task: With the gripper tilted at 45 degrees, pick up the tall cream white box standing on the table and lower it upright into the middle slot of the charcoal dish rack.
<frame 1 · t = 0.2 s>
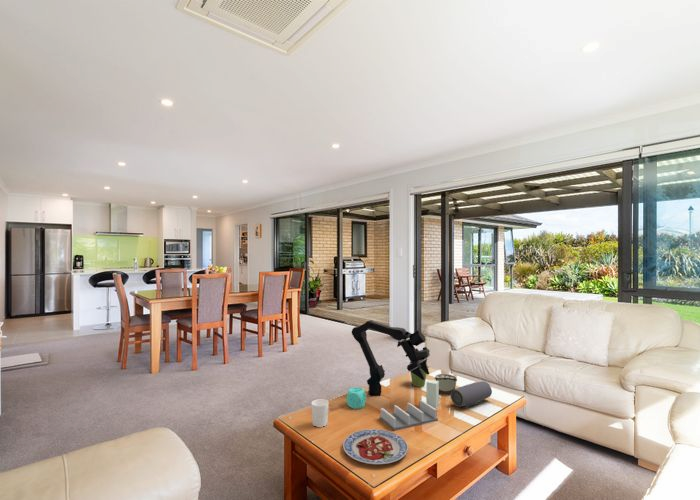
hand: (426, 376, 186), 14 cm above the table, tool tilted 35°, fingers open, 9 cm apart
food container: (444, 393, 201), on the table
plant pot: (418, 385, 214), on the table
dish rack: (408, 419, 169), on the table
decorative dice: (356, 406, 184), on the table
white cup: (319, 424, 163), on the table
bluetooth speaker: (471, 404, 187), on the table
cream white box: (432, 407, 183), on the table
ceramic plate: (375, 450, 142), on the table
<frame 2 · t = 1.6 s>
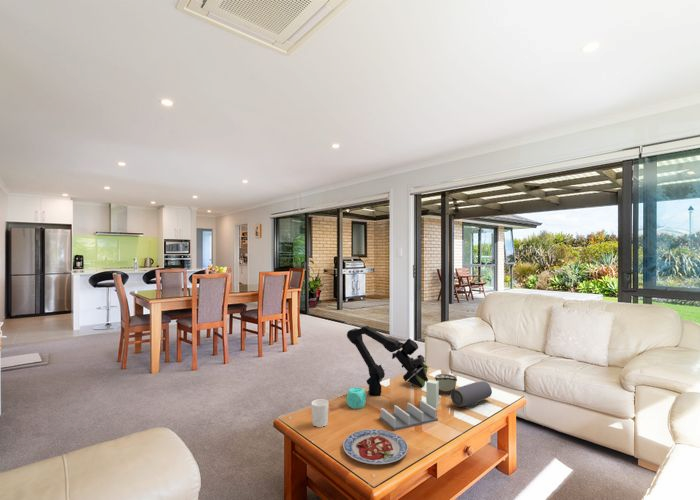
hand: (425, 384, 185), 11 cm above the table, tool tilted 45°, fingers open, 9 cm apart
nothing on the table moved.
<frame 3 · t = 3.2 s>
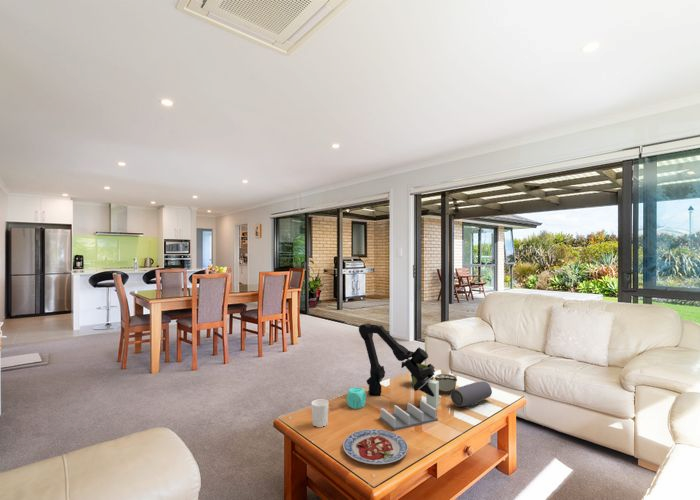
hand: (435, 394, 182), 7 cm above the table, tool tilted 45°, fingers closed on cream white box, 5 cm apart
cream white box: (432, 407, 183), on the table, touching gripper
everything else where it was.
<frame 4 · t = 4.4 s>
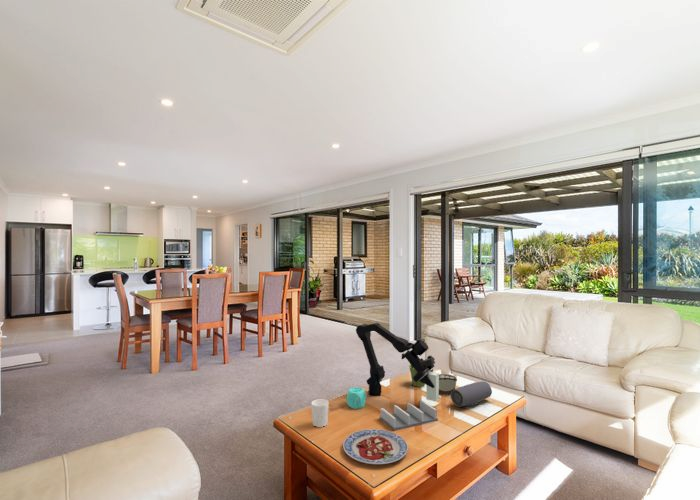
hand: (435, 386, 182), 11 cm above the table, tool tilted 45°, fingers closed on cream white box, 4 cm apart
cream white box: (432, 398, 183), point 4 cm above the table, touching gripper
everything else where it was.
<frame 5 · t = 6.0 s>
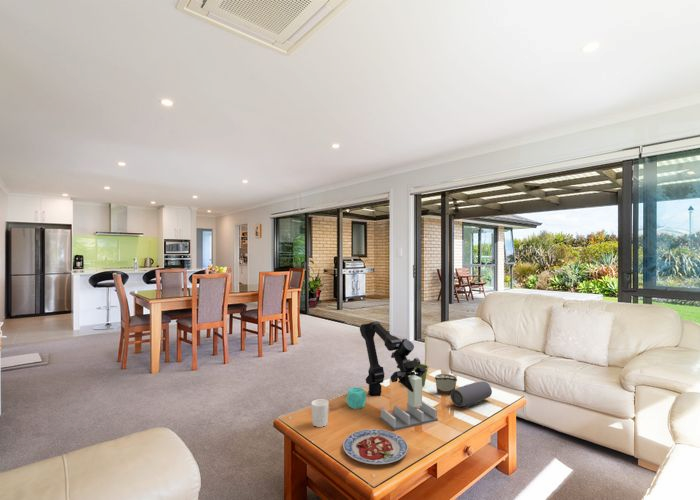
hand: (416, 390, 170), 13 cm above the table, tool tilted 45°, fingers closed on cream white box, 4 cm apart
cream white box: (414, 404, 171), point 6 cm above the table, touching gripper
everything else where it was.
when the fingers open (8 cm above the table, at t = 7.9 s): cream white box stays where it is, resting on dish rack.
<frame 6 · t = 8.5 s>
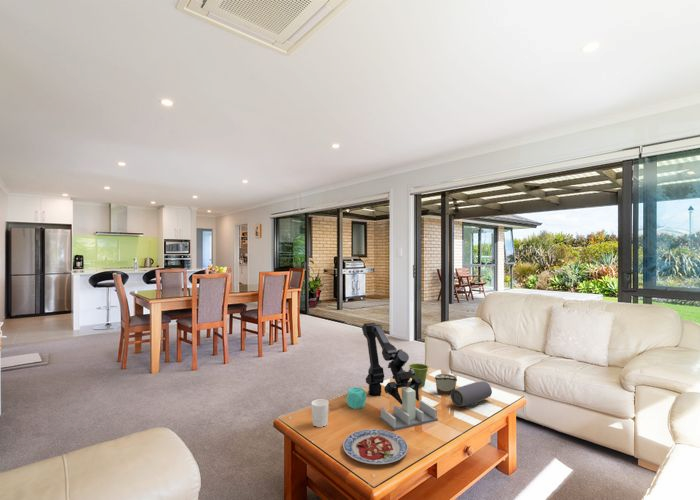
hand: (410, 402, 168), 9 cm above the table, tool tilted 45°, fingers open, 9 cm apart
cream white box: (408, 417, 169), point 1 cm above the table, touching dish rack
everything else where it was.
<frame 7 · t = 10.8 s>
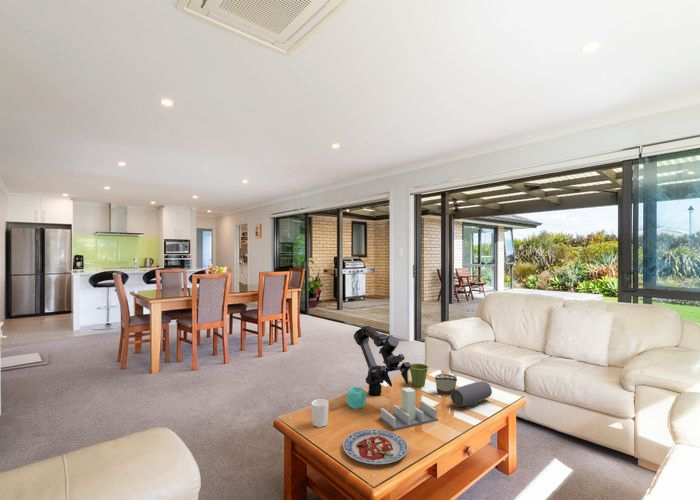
hand: (399, 384, 176), 14 cm above the table, tool tilted 45°, fingers open, 9 cm apart
nothing on the table moved.
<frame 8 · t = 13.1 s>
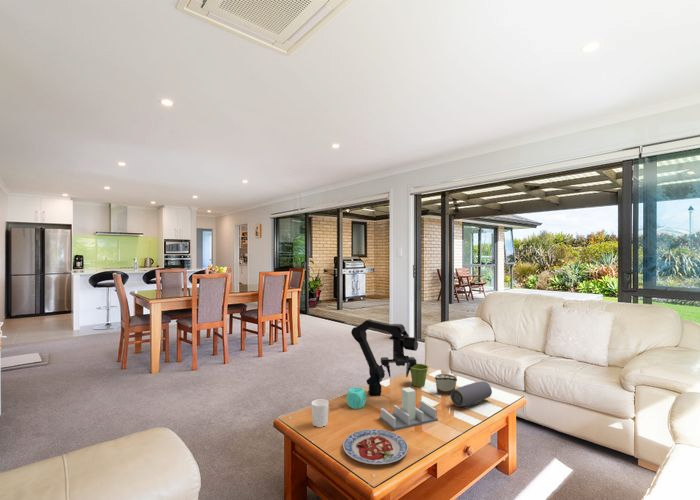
hand: (398, 377, 192), 12 cm above the table, tool pointing down, fingers open, 9 cm apart
nothing on the table moved.
at the end: cream white box 0.0 cm off-centre on the dish rack, point 1.0 cm above the dish rack's base; cream white box tilted 0°; the gripper is holding nothing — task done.
